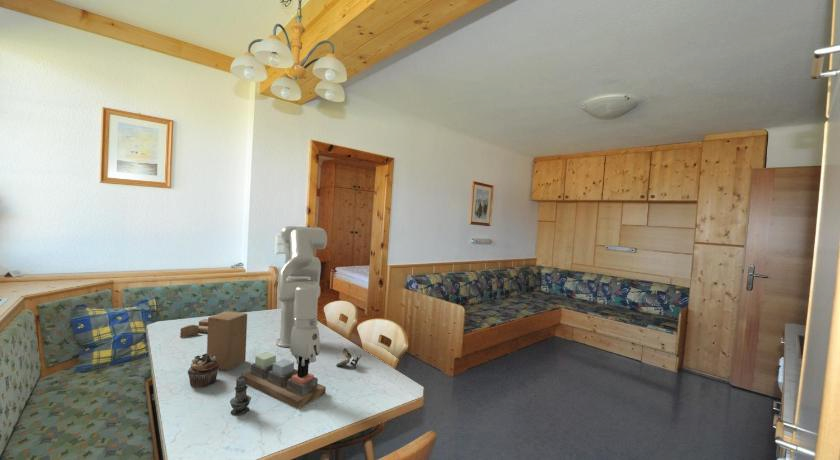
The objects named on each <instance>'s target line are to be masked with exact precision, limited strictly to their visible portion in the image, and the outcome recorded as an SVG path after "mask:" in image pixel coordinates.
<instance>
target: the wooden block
mask: <svg viewBox="0 0 840 460" xmlns="http://www.w3.org/2000/svg"><path fill="white" fill-rule="evenodd" d="M207 319H208V333H207V338H206V339H207V340H206V341H207V342H206V353H207V354H208V356H212V355H213V356H215V357H216V360H217V362H218V365H219V370H220V371H228V372H229V371H230V370H232V369H234V368H236V367H237V366H239V365H241V364H242V363H245V362H246V357H247V356H246V353H247V352H246V351H247V335H248V334H247V330H248V327H247V326H248V313H245V312H238V311H230V310H225V311H223V312H220V313H218V314H214V315H210V316H209V317H207Z"/></svg>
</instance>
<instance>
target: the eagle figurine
mask: <svg viewBox="0 0 840 460" xmlns="http://www.w3.org/2000/svg"><path fill="white" fill-rule="evenodd" d="M342 353H343V355H344V357H345V358H346V359H345V360H341V361H340V362H339V363H336V367H339V366H340V367H341V366H347V365H352V366H353V367H354V369H356V368H357V364H358V362H359V360H360V359H361V357H362V354H360V355H359V356H356V358H355V359H354V357H353V356H352V354H351V352H349V351H348V348H346V347H345V348H343V349H342Z"/></svg>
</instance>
